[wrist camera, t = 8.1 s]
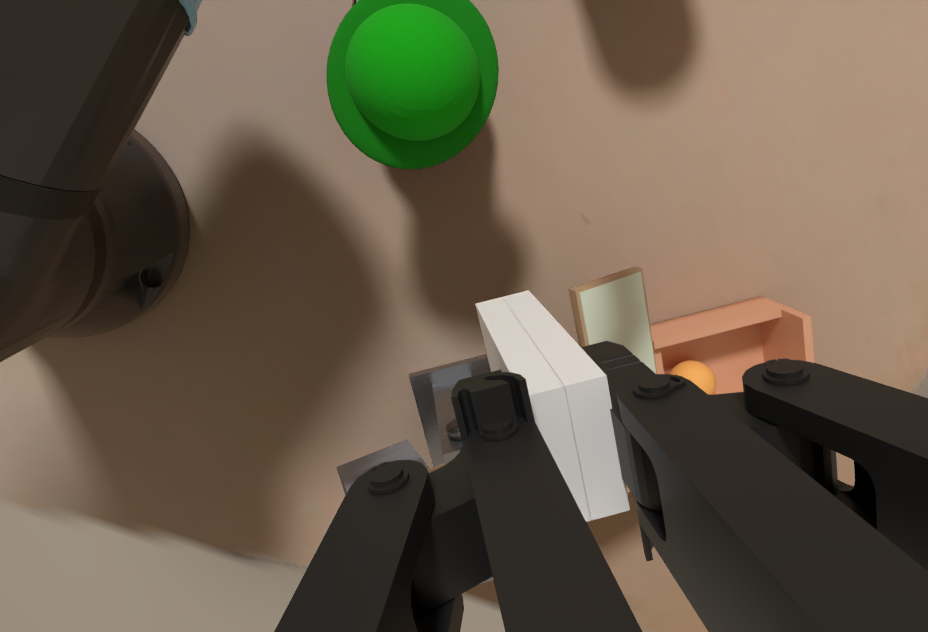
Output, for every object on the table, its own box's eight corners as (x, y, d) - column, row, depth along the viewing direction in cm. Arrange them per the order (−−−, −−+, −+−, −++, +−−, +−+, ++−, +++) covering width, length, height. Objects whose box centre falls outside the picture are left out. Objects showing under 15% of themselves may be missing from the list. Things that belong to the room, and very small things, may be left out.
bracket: (442, 498, 50) (456, 603, 39) (409, 373, 47) (413, 447, 36) (515, 479, 50) (550, 578, 39) (486, 354, 47) (514, 421, 36)
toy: (442, 184, 44) (465, 203, 29) (325, 132, 42) (288, 125, 28) (495, 58, 42) (547, 13, 28) (375, -1, 40) (363, -83, 26)
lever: (361, 545, 43) (390, 615, 36) (300, 354, 39) (319, 390, 32) (620, 432, 49) (688, 472, 42) (590, 258, 45) (659, 271, 38)
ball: (729, 404, 47) (699, 389, 50) (724, 361, 46) (693, 349, 49) (689, 420, 46) (661, 403, 49) (683, 376, 45) (655, 363, 48)
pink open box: (652, 433, 51) (685, 470, 45) (635, 328, 48) (668, 352, 42) (771, 402, 51) (819, 434, 45) (761, 296, 48) (810, 316, 43)
